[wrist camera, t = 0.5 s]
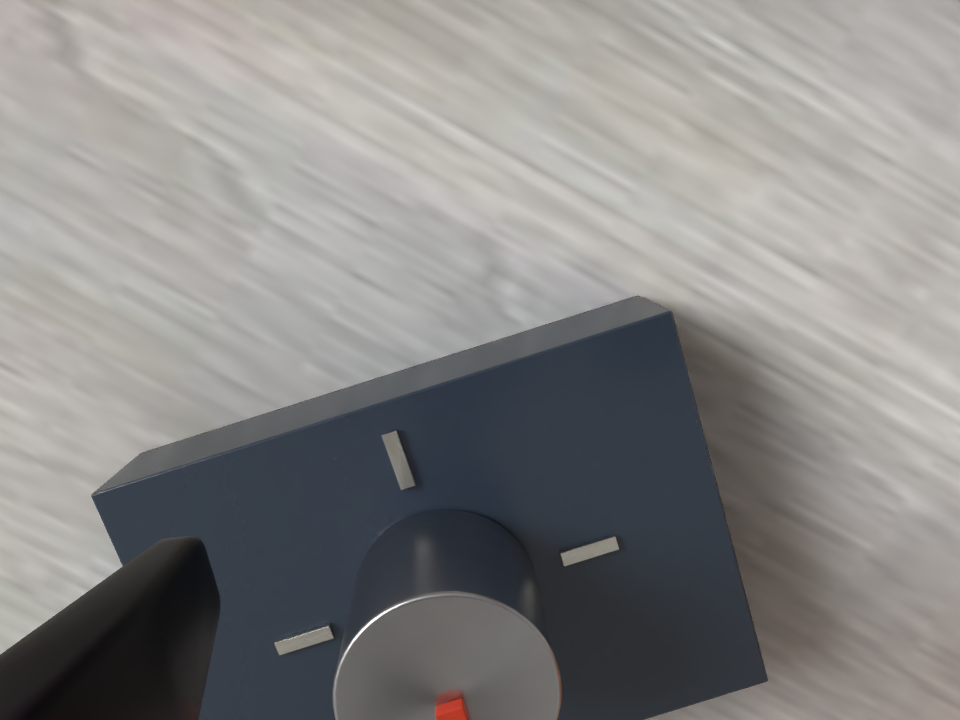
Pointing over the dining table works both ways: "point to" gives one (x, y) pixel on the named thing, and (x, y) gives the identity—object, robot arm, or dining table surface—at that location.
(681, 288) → the dining table surface
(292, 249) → the dining table surface
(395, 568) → the dial
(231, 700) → the console
